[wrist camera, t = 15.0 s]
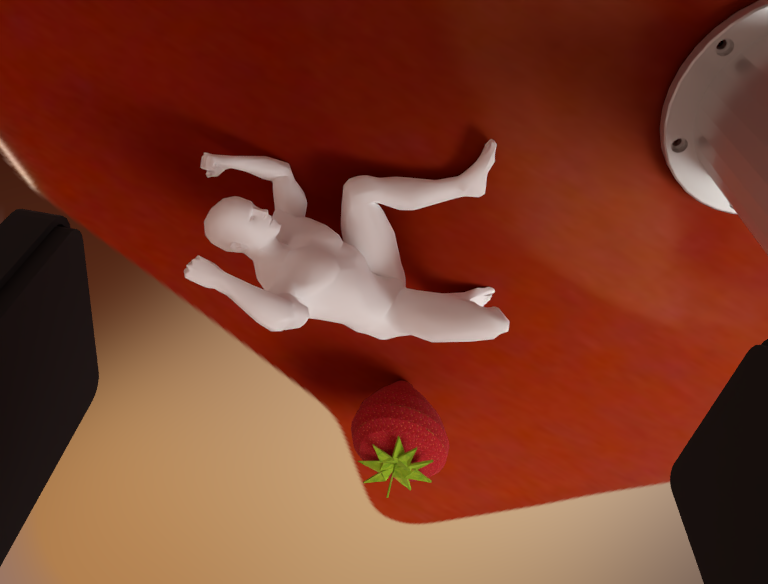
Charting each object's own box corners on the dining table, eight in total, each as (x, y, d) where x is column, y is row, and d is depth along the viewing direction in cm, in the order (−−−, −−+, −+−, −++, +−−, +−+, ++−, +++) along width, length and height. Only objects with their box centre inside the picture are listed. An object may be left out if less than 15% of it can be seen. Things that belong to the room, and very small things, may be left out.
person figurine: (564, 259, 32) (176, 301, 30) (525, 403, 41) (229, 440, 40) (497, 103, 40) (191, 130, 39) (478, 252, 50) (232, 279, 49)
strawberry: (414, 427, 55) (412, 536, 47) (340, 381, 52) (324, 489, 44) (465, 388, 52) (472, 497, 44) (389, 338, 49) (382, 444, 41)
